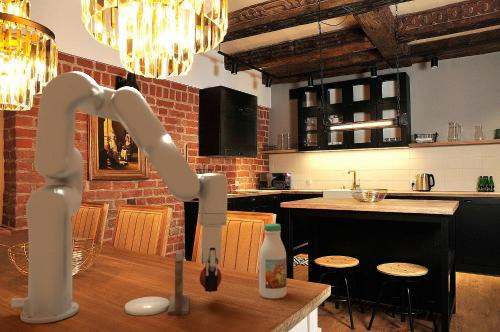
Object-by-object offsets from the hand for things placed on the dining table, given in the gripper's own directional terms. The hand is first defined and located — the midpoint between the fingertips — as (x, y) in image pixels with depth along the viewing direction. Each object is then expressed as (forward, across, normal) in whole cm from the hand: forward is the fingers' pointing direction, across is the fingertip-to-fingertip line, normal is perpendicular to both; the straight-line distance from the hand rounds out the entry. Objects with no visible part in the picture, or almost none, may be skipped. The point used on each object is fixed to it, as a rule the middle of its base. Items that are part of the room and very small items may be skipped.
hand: (210, 286), depth 99 cm
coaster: (+5, +1, -16) cm, 17 cm away
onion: (+2, 0, 0) cm, 2 cm away
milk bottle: (+4, -4, +18) cm, 19 cm away
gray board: (+5, +1, -8) cm, 9 cm away
